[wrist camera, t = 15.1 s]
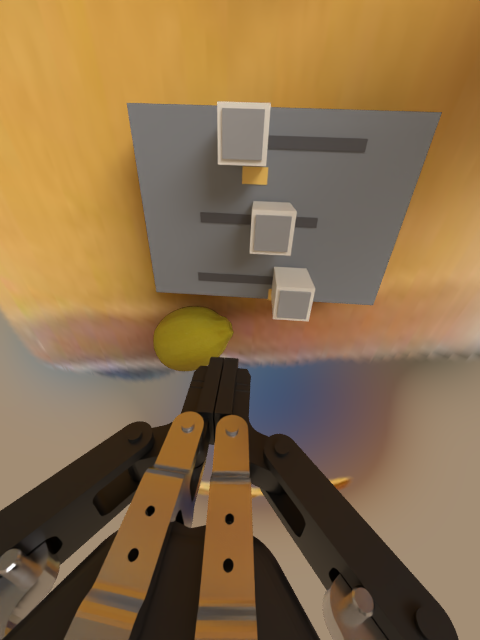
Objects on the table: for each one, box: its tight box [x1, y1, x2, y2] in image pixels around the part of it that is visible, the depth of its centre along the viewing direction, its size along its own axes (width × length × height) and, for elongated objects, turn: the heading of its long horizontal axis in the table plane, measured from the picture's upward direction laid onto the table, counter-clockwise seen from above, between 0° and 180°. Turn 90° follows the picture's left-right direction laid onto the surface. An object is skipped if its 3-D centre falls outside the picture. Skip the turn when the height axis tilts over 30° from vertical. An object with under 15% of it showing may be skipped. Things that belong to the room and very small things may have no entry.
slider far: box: [271, 267, 315, 321], centre depth 22 cm, size 3×3×5 cm
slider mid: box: [250, 201, 297, 256], centre depth 19 cm, size 3×3×5 cm
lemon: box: [153, 306, 234, 371], centre depth 32 cm, size 11×8×8 cm
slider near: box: [217, 101, 271, 166], centre depth 17 cm, size 3×3×5 cm
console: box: [127, 103, 442, 305], centre depth 24 cm, size 22×16×6 cm
